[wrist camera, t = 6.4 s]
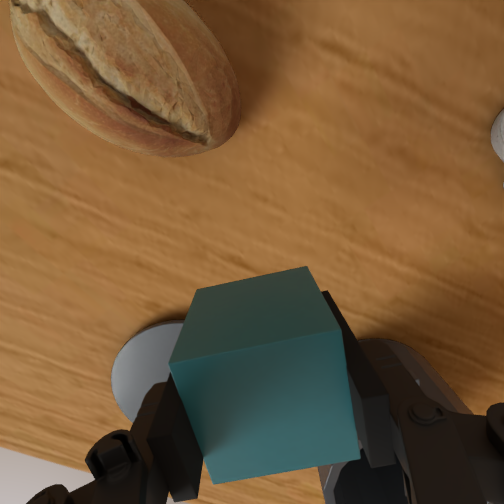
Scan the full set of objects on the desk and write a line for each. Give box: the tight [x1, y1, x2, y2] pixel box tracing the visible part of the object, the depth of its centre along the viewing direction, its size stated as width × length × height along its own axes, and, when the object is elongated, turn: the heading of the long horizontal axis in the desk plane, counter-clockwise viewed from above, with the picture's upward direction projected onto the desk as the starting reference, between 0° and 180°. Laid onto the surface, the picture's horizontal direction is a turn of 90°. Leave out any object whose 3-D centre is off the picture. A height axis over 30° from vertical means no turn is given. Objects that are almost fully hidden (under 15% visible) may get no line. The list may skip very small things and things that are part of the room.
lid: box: [111, 320, 185, 423], centre depth 26 cm, size 15×15×9 cm
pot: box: [317, 339, 493, 504], centre depth 27 cm, size 14×19×10 cm
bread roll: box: [8, 0, 241, 157], centre depth 18 cm, size 10×15×8 cm, turn 58°
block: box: [168, 266, 361, 484], centre depth 12 cm, size 6×6×6 cm
